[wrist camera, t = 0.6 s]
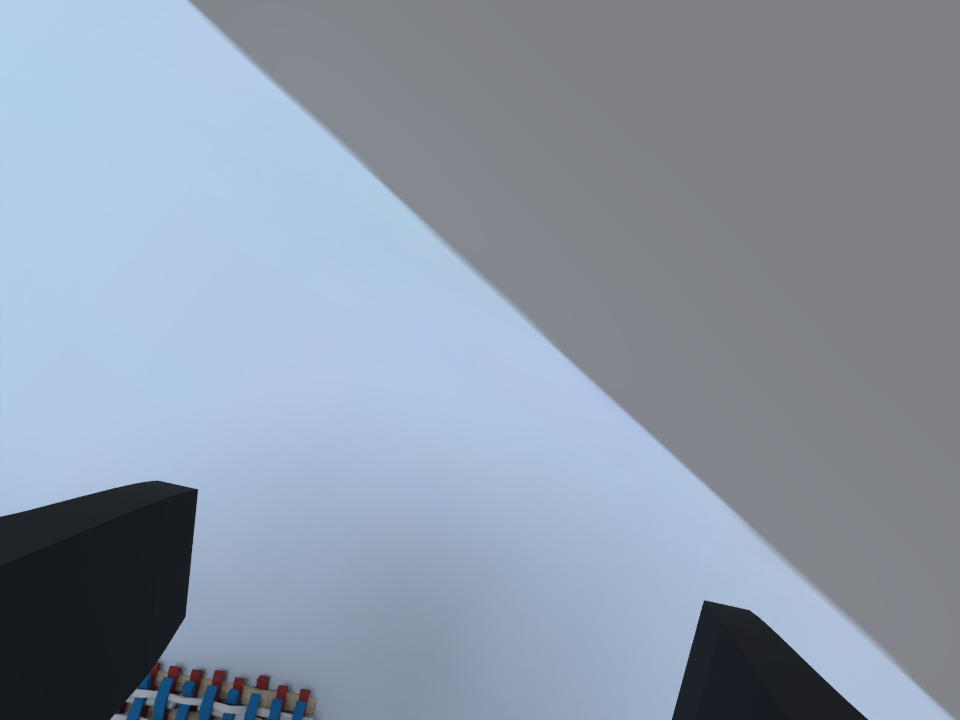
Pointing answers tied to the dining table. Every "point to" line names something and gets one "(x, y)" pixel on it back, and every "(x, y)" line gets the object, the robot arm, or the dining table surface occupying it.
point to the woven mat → (211, 699)
